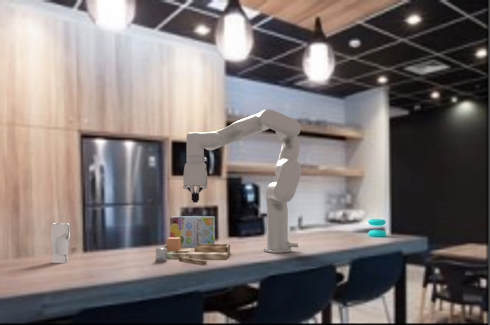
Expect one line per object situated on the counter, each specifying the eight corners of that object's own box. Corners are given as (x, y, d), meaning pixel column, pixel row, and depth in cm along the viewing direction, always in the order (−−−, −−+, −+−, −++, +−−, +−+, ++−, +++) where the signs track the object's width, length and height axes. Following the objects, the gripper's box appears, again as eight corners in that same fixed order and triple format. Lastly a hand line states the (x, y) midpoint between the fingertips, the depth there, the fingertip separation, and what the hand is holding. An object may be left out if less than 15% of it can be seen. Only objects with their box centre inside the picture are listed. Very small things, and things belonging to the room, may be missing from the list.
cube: (180, 248, 185) (180, 237, 185) (178, 250, 180) (178, 238, 180) (169, 248, 185) (169, 237, 185) (166, 250, 180) (166, 238, 180)
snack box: (215, 247, 204) (215, 216, 205) (213, 248, 198) (213, 217, 199) (172, 246, 206) (172, 215, 207) (169, 248, 200) (169, 216, 201)
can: (168, 260, 168) (168, 247, 168) (165, 262, 163) (165, 249, 164) (157, 260, 168) (157, 247, 168) (154, 262, 164) (154, 249, 164)
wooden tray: (230, 253, 186) (230, 243, 186) (225, 259, 170) (225, 249, 170) (168, 252, 188) (168, 243, 188) (158, 258, 172) (158, 248, 172)
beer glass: (50, 264, 159) (51, 224, 160) (49, 261, 165) (50, 223, 166) (70, 262, 162) (71, 223, 163) (68, 260, 168) (69, 222, 169)
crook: (213, 263, 162) (213, 259, 162) (203, 265, 158) (203, 261, 158) (188, 259, 171) (188, 255, 171) (179, 260, 167) (179, 257, 167)
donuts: (364, 218, 251) (379, 218, 254) (365, 235, 251) (379, 235, 254) (374, 220, 242) (389, 219, 245) (374, 237, 241) (389, 236, 244)
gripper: (213, 160, 187) (213, 201, 186) (180, 161, 188) (180, 202, 187) (210, 159, 180) (210, 202, 179) (176, 160, 181) (176, 202, 180)
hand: (195, 202), depth 183 cm, fingers closed
